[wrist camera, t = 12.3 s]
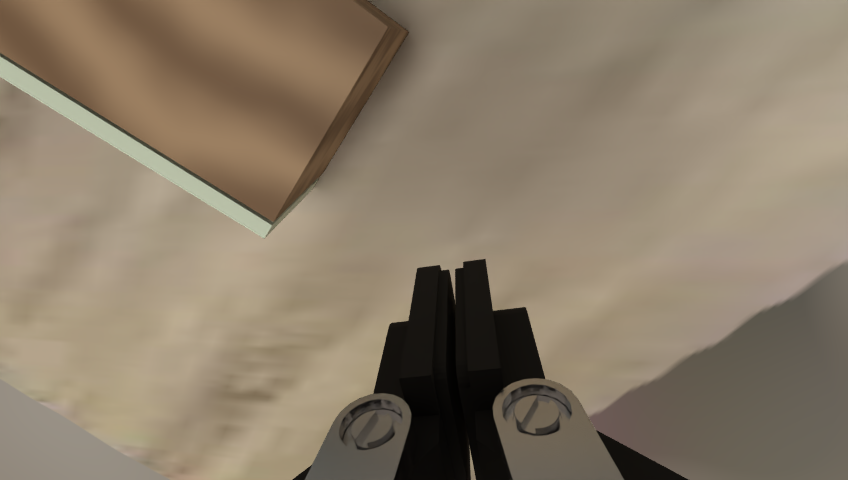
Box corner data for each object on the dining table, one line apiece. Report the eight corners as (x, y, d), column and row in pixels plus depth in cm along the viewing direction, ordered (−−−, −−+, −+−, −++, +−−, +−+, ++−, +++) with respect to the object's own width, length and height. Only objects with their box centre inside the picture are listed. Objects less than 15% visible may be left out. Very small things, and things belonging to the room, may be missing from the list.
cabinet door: (83, 22, 36) (-65, 14, 26) (319, 177, 40) (272, 224, 30) (75, 48, 37) (-71, 50, 26) (307, 197, 41) (257, 249, 30)
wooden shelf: (147, -167, 31) (-22, -281, 20) (408, 31, 35) (388, 26, 24) (88, 19, 36) (-72, 8, 25) (322, 173, 40) (273, 222, 29)
